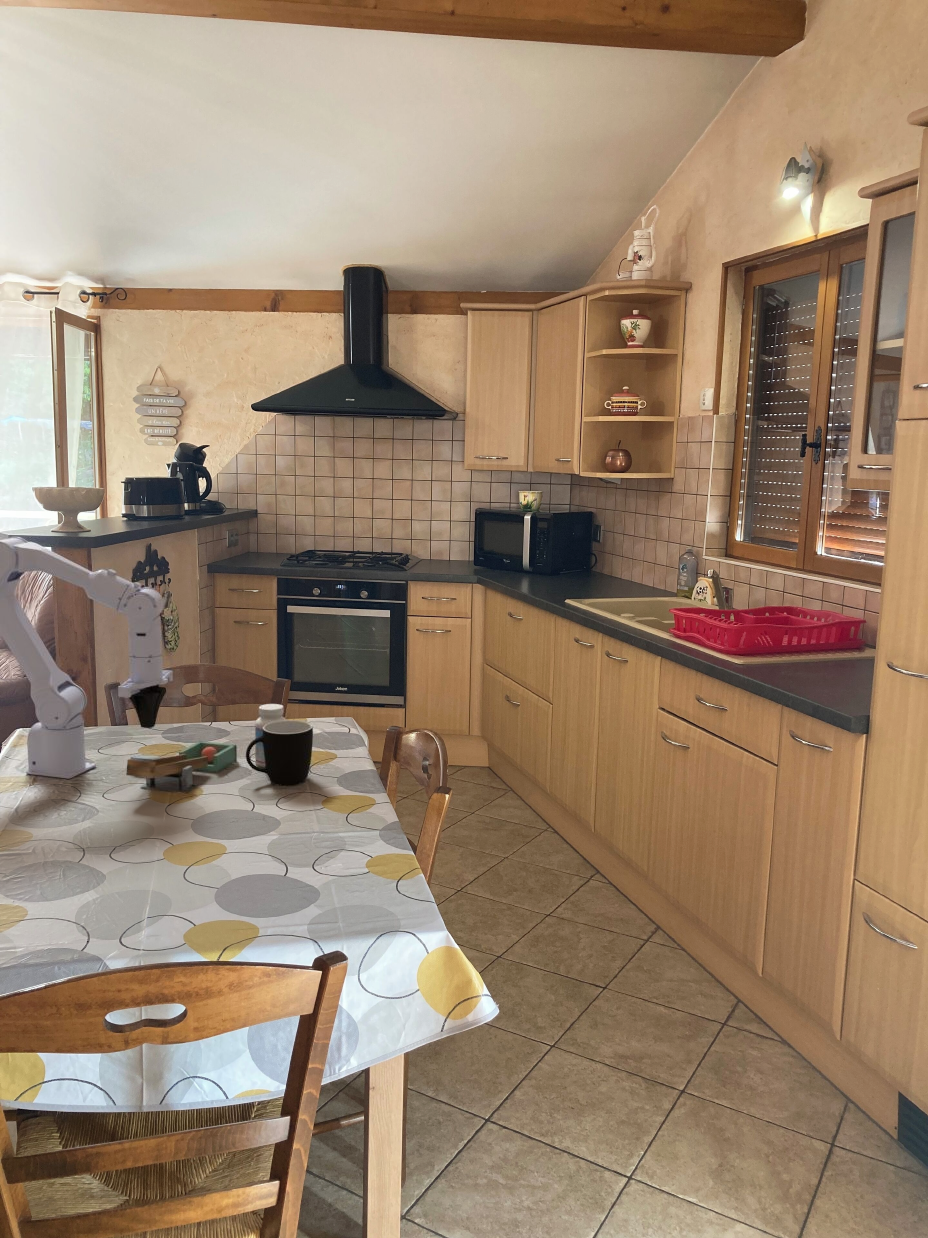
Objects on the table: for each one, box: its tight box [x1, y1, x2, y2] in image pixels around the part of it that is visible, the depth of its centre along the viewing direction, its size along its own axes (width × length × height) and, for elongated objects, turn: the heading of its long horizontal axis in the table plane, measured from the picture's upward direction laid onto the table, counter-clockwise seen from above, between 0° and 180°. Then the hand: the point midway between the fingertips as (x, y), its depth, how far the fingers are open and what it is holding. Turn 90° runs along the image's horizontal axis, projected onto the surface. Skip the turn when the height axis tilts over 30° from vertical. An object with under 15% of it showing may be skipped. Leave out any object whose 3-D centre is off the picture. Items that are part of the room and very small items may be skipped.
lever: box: [126, 754, 208, 778], centre depth 167 cm, size 14×18×3 cm
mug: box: [245, 719, 314, 787], centre depth 171 cm, size 12×9×10 cm
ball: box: [201, 747, 217, 763], centre depth 180 cm, size 3×3×3 cm
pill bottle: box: [254, 703, 287, 768], centre depth 181 cm, size 6×6×11 cm
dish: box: [178, 740, 238, 773], centre depth 180 cm, size 8×7×3 cm
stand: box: [140, 766, 199, 794], centre depth 167 cm, size 9×4×4 cm, turn 75°
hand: (147, 726), depth 174 cm, fingers closed
